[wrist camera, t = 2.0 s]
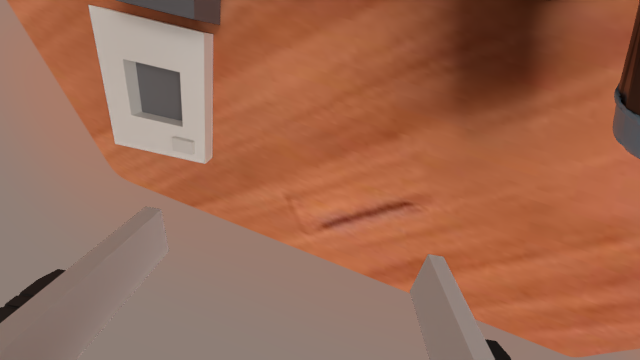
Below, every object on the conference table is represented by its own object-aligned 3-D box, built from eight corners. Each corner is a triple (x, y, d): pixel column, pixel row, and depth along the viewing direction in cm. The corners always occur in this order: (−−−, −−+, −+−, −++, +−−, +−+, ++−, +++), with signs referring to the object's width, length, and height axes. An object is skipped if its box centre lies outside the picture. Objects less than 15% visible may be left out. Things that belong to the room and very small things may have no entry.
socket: (105, 7, 32) (82, 3, 29) (213, 34, 32) (200, 32, 29) (127, 138, 40) (111, 145, 37) (212, 157, 41) (202, 166, 38)
